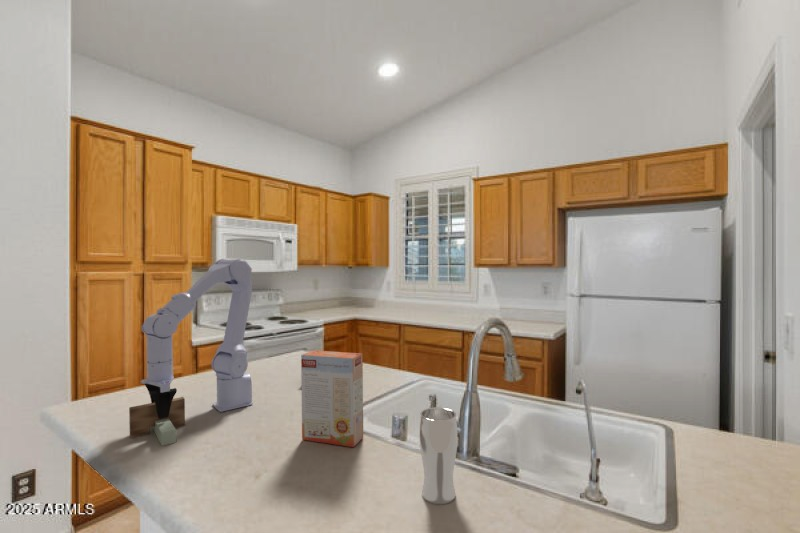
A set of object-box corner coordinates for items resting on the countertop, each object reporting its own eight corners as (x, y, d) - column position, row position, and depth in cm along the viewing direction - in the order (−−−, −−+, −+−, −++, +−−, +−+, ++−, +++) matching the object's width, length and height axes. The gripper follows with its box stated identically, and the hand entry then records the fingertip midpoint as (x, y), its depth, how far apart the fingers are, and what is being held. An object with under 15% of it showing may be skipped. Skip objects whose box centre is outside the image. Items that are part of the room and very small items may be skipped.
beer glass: (417, 485, 76) (417, 407, 76) (453, 483, 77) (452, 406, 77) (422, 507, 70) (422, 421, 69) (461, 505, 70) (461, 420, 70)
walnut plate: (183, 422, 107) (182, 396, 107) (184, 425, 106) (184, 398, 106) (129, 435, 100) (129, 407, 99) (130, 438, 98) (130, 409, 98)
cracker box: (364, 437, 97) (363, 352, 97) (353, 448, 92) (352, 358, 91) (314, 430, 102) (313, 348, 102) (301, 440, 96) (300, 354, 96)
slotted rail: (160, 415, 112) (159, 404, 112) (176, 442, 96) (176, 429, 96) (147, 418, 111) (147, 407, 110) (161, 445, 94) (161, 433, 94)
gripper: (137, 358, 106) (138, 409, 106) (145, 369, 95) (146, 426, 95) (168, 354, 110) (168, 402, 111) (179, 364, 99) (179, 418, 99)
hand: (160, 413), depth 103 cm, fingers open, 7 cm apart
